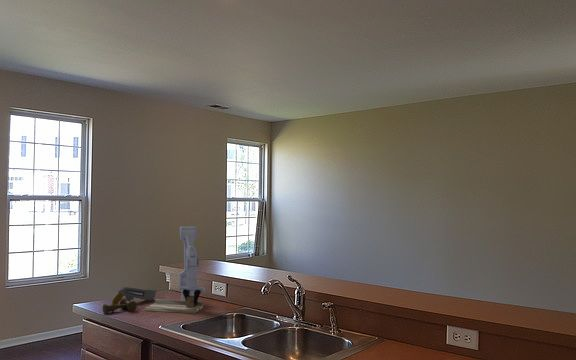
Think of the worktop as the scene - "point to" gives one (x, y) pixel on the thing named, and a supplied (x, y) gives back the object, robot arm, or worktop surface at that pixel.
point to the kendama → (121, 306)
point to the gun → (134, 294)
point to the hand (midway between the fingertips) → (191, 303)
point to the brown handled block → (190, 302)
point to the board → (173, 306)
